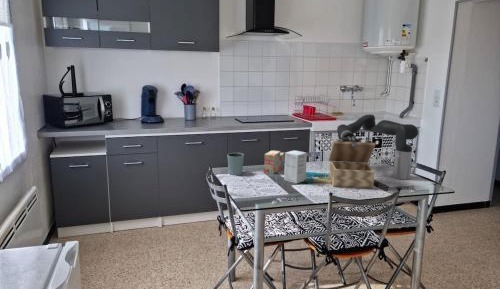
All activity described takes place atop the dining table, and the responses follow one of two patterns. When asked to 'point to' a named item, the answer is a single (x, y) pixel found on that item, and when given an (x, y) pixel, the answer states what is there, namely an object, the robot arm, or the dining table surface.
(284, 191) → the dining table surface
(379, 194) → the dining table surface
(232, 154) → the green cup
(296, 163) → the supplement box
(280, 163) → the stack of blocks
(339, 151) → the box lid
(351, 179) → the oak box
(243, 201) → the dining table surface
